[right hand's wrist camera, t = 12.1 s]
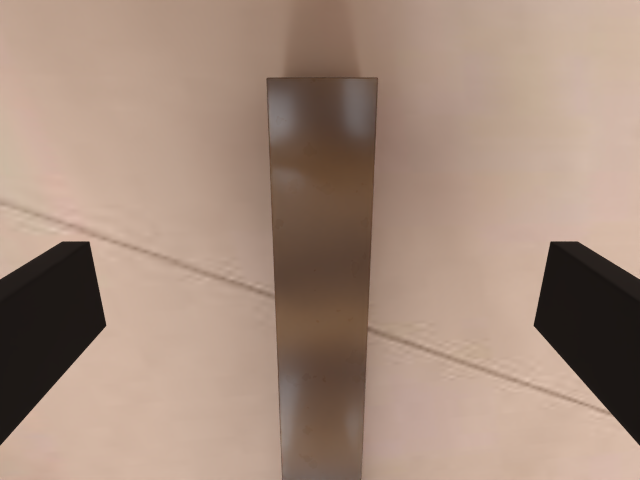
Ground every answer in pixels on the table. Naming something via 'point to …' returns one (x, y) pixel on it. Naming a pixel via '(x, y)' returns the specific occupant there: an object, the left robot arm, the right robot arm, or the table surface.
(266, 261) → the table surface
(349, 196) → the post
